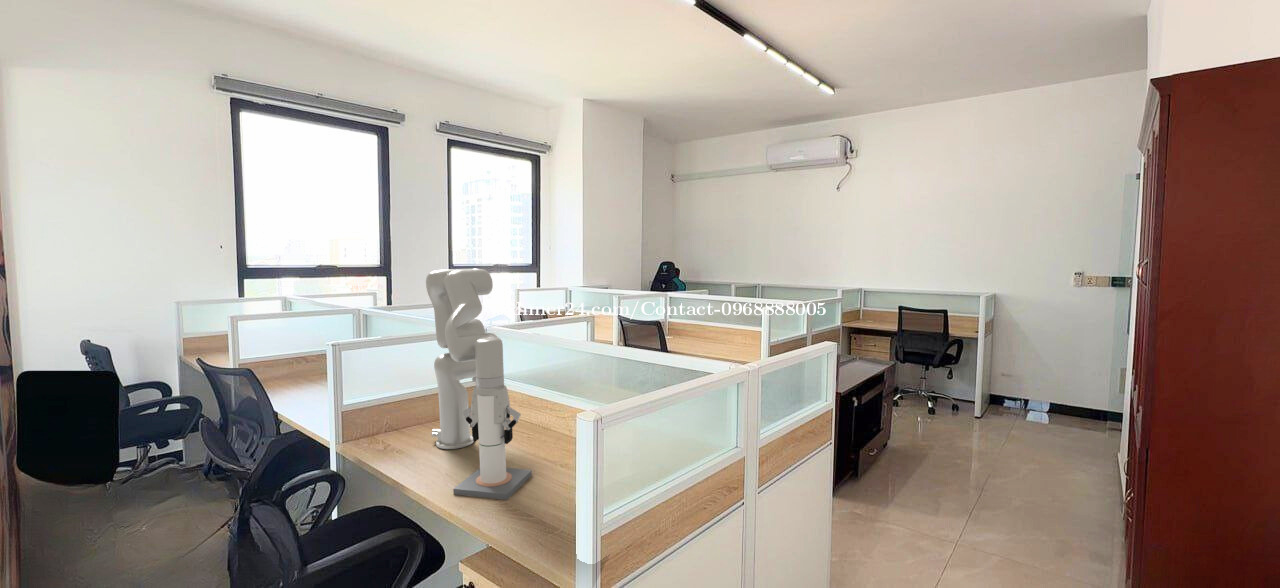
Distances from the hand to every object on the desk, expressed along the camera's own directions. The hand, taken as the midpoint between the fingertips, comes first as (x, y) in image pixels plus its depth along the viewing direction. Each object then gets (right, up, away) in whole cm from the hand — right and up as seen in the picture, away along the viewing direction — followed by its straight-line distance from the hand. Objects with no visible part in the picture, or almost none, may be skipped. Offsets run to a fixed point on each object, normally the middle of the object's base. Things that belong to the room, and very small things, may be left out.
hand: (492, 440), depth 156 cm
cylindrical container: (0, -11, +1) cm, 11 cm away
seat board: (0, -13, +1) cm, 13 cm away
